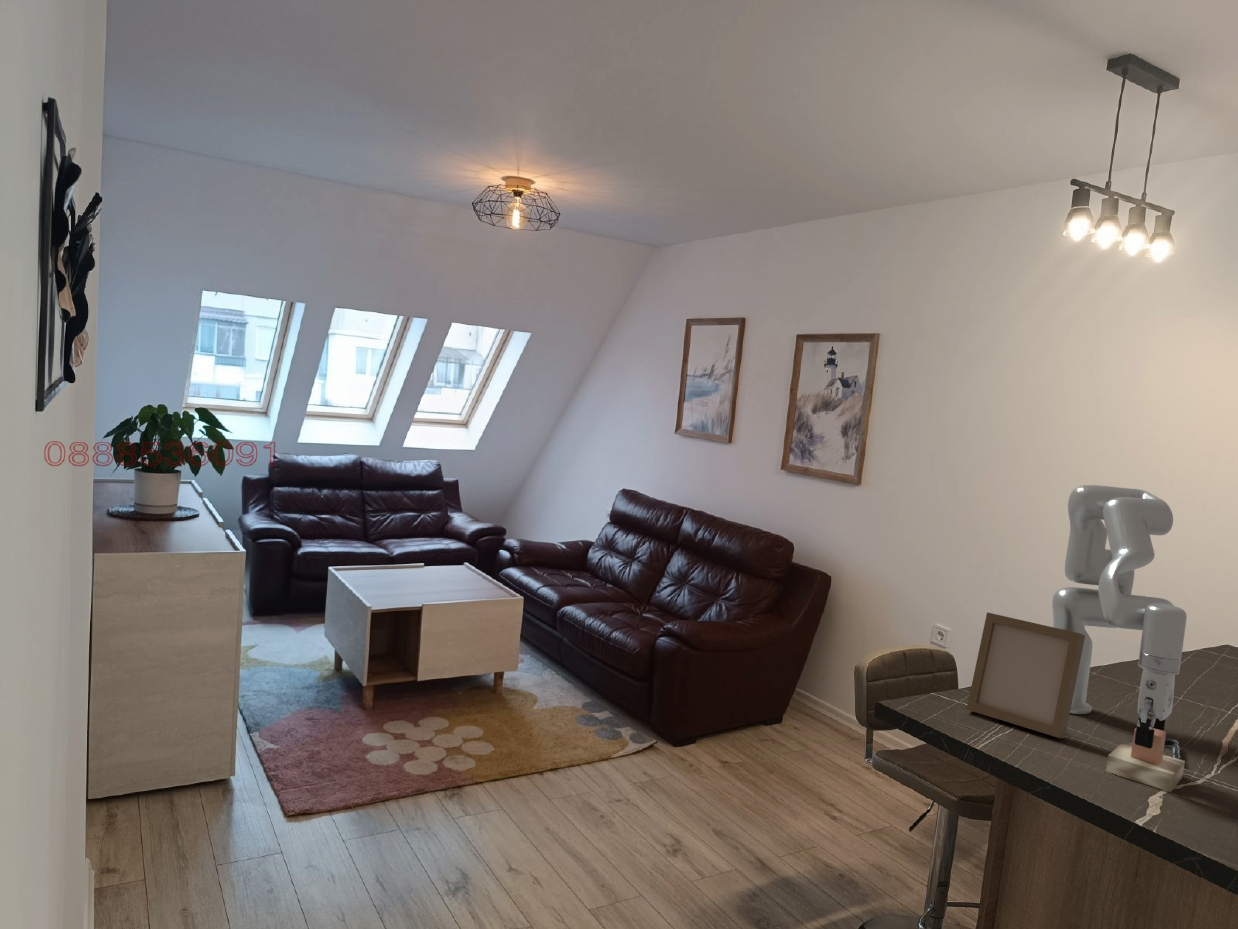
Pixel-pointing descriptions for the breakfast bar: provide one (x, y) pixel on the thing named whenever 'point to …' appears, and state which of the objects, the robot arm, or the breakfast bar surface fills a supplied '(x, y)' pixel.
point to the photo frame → (1026, 674)
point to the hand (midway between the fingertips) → (1148, 741)
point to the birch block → (1145, 768)
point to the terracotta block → (1149, 754)
